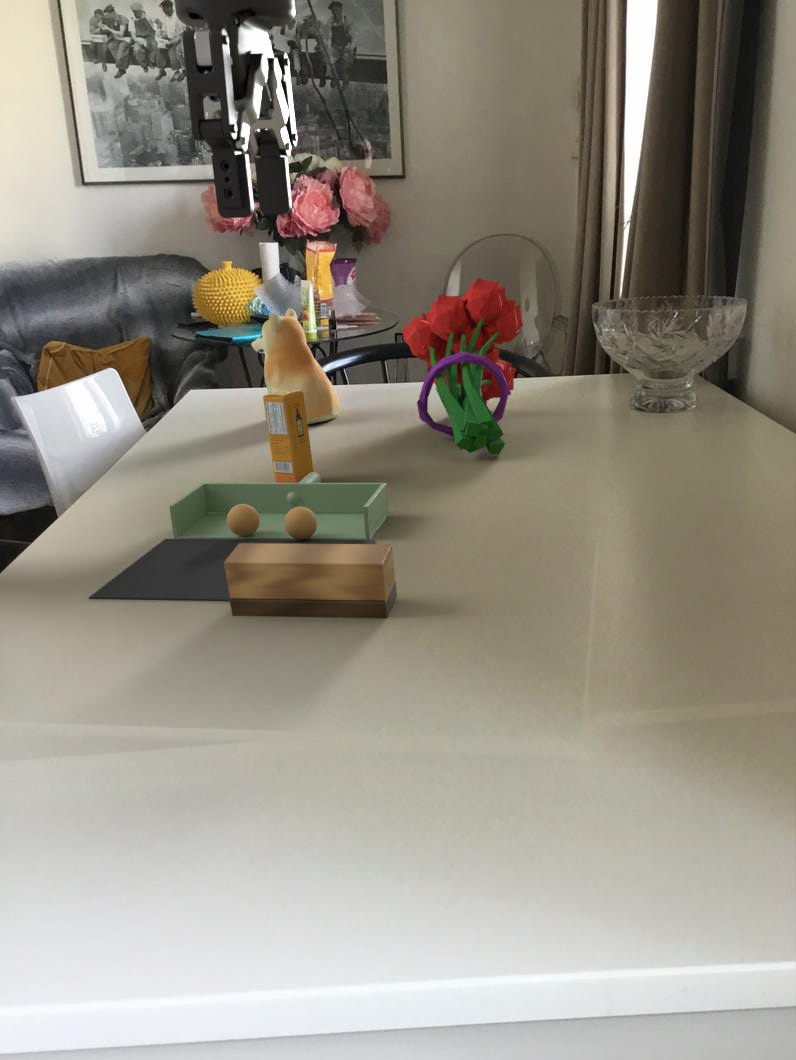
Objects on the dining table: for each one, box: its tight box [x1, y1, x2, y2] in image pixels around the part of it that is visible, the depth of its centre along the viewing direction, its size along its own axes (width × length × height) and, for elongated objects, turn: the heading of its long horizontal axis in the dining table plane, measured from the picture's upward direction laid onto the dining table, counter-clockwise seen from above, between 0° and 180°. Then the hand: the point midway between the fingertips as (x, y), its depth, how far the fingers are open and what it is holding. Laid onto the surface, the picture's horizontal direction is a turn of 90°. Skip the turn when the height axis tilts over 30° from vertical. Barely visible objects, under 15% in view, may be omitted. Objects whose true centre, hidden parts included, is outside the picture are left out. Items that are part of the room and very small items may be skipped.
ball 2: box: [284, 507, 317, 540], centre depth 96 cm, size 3×3×3 cm
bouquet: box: [401, 277, 524, 456], centre depth 135 cm, size 20×16×30 cm
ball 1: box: [227, 504, 260, 536], centre depth 98 cm, size 3×3×3 cm
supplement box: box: [262, 390, 314, 483], centre depth 115 cm, size 3×3×10 cm
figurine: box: [250, 308, 340, 425], centre depth 148 cm, size 12×13×15 cm
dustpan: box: [168, 471, 389, 540], centre depth 104 cm, size 16×19×3 cm
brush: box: [224, 543, 398, 619], centre depth 80 cm, size 12×4×4 cm, turn 83°
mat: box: [88, 538, 376, 602], centre depth 90 cm, size 20×16×1 cm
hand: (257, 215), depth 72 cm, fingers open, 8 cm apart
